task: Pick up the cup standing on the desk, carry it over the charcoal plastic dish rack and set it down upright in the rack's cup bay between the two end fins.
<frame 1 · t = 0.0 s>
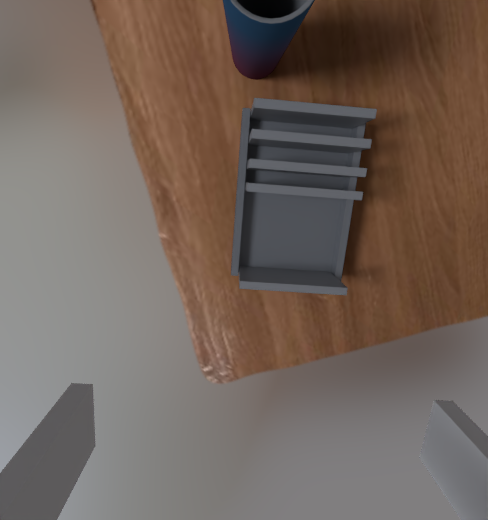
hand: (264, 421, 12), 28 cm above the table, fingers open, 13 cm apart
rack: (290, 199, 38), on the table
cup: (255, 54, 34), on the table
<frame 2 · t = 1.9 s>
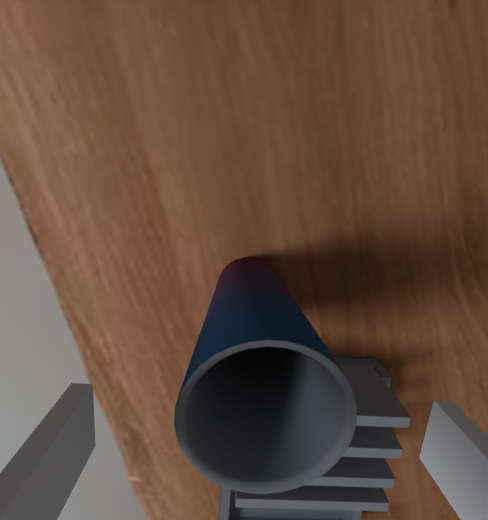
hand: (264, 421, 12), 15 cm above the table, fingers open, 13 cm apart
rack: (293, 439, 30), on the table
cup: (248, 285, 27), on the table
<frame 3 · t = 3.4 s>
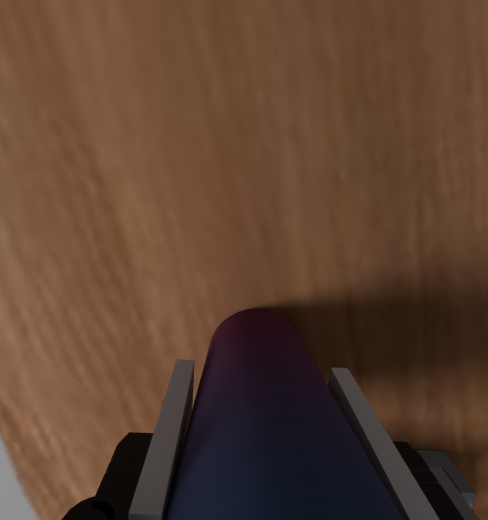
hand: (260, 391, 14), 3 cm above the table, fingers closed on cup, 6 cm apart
cup: (255, 349, 18), on the table, touching gripper
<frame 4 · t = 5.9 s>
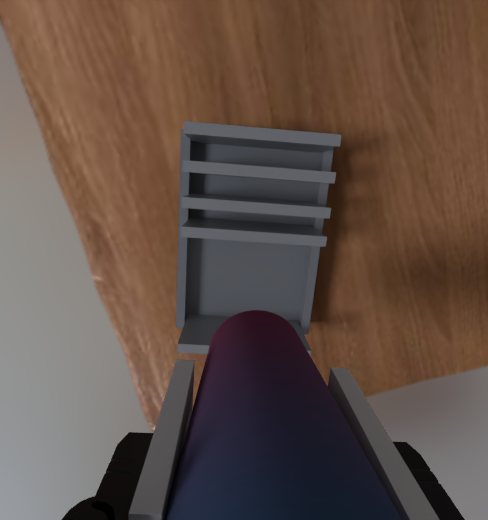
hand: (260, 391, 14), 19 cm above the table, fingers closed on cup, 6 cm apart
rack: (248, 235, 32), on the table
cup: (255, 350, 18), point 16 cm above the table, touching gripper
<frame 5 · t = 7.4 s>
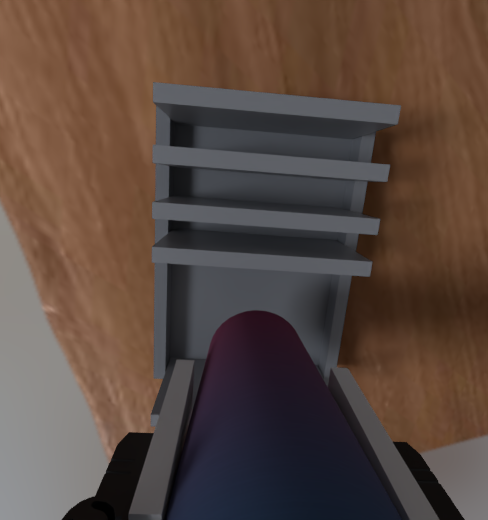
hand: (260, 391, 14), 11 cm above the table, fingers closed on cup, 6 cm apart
rack: (253, 252, 24), on the table
cup: (255, 350, 18), point 7 cm above the table, touching gripper
when the fingers open (7 cm above the table, at t = 8.5 s): cup drops 2 cm, resting on rack.
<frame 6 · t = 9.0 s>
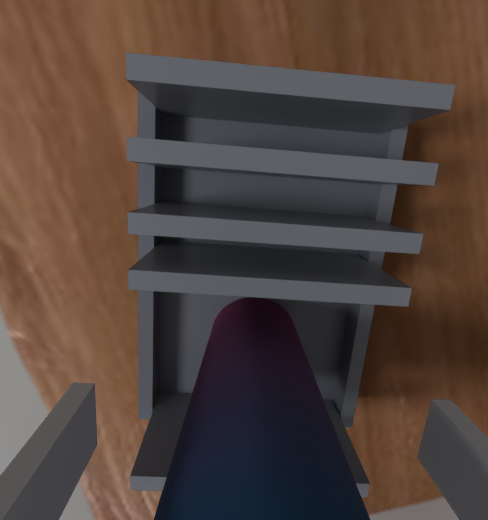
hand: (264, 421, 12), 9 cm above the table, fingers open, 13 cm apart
rack: (256, 268, 20), on the table
cup: (253, 332, 20), point 1 cm above the table, touching rack
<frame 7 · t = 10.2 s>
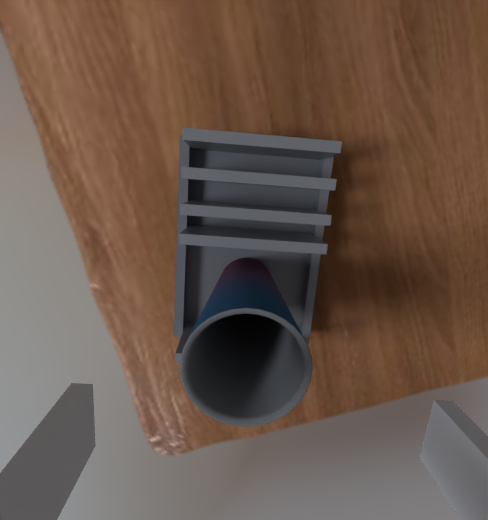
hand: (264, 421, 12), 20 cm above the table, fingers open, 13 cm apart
rack: (248, 243, 31), on the table
cup: (246, 282, 31), point 1 cm above the table, touching rack
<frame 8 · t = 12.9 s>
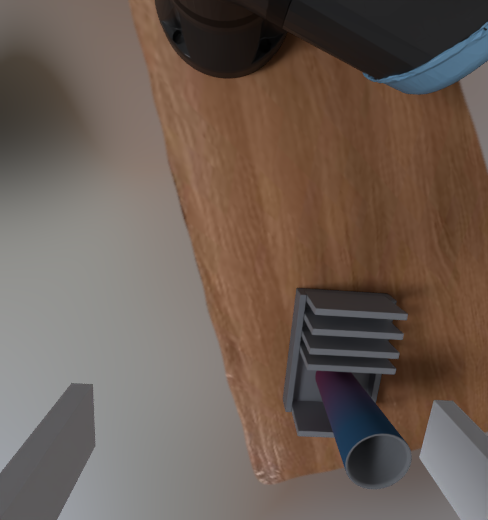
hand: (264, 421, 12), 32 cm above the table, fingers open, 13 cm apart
rack: (333, 348, 47), on the table
cup: (331, 374, 47), point 1 cm above the table, touching rack
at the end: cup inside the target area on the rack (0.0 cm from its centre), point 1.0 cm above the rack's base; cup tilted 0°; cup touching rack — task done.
